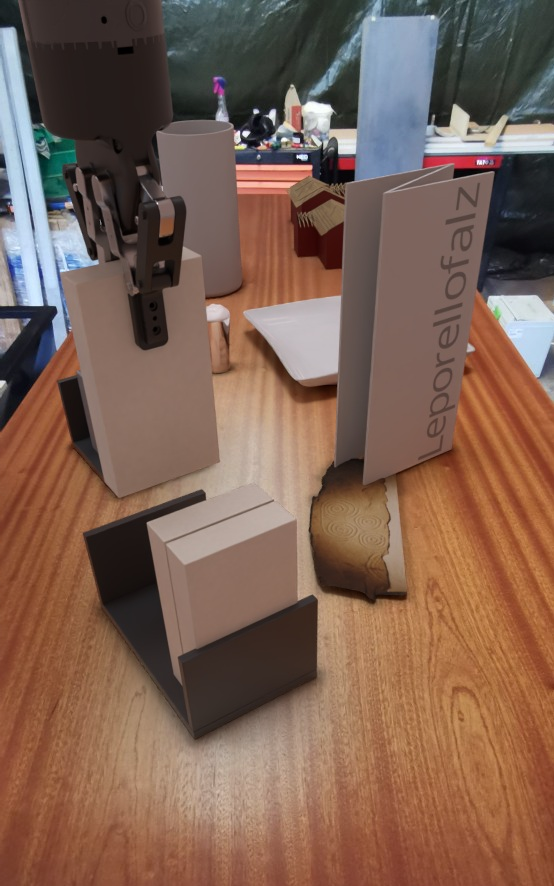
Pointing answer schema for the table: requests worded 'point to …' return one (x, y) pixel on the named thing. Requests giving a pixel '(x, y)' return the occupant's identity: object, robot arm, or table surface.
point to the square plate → (305, 337)
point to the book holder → (209, 601)
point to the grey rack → (80, 420)
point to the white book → (144, 377)
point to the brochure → (406, 313)
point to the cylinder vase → (205, 196)
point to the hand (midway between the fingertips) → (142, 337)
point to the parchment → (358, 532)
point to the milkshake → (218, 337)
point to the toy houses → (318, 220)
